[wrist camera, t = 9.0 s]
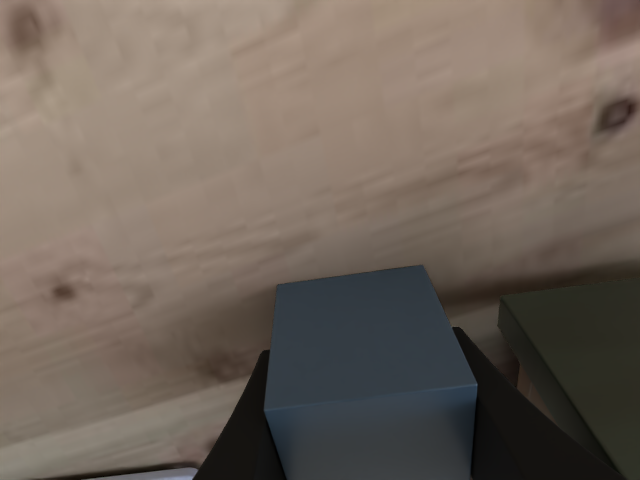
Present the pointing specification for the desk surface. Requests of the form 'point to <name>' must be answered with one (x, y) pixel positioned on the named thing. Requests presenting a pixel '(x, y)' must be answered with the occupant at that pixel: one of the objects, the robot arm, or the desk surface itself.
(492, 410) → the robot arm
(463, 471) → the block
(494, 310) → the desk surface
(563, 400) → the drawer
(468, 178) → the desk surface
